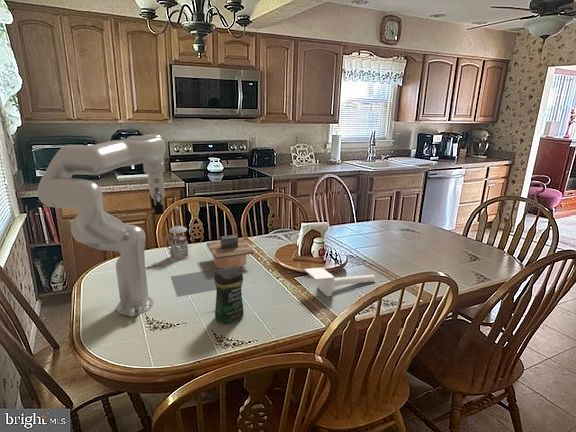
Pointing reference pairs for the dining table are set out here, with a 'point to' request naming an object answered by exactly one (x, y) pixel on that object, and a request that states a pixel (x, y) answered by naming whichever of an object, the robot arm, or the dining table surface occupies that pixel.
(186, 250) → the lantern
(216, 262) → the bowl
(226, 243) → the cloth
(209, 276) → the mat
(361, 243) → the dining table surface
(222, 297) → the coffee jar
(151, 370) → the dining table surface
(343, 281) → the white mallet
